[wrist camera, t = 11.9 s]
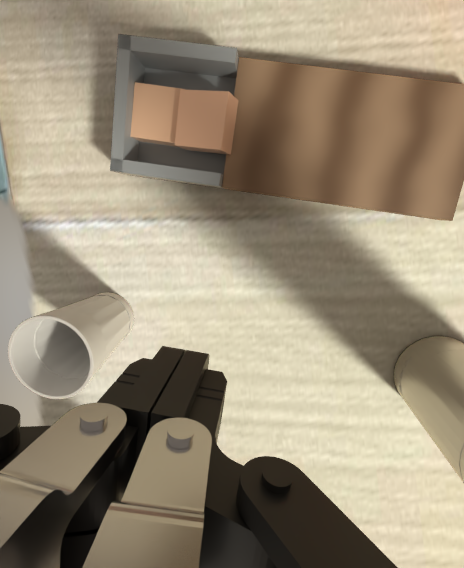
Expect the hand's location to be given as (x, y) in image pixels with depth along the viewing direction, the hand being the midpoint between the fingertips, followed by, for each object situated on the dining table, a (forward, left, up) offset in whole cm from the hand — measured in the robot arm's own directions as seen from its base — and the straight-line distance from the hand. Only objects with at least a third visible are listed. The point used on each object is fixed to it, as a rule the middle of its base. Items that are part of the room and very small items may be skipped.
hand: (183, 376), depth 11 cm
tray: (+9, -13, -29) cm, 33 cm away
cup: (+15, +10, -29) cm, 34 cm away
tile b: (+10, -13, -29) cm, 33 cm away
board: (-8, -13, -29) cm, 33 cm away
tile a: (+5, -13, -27) cm, 30 cm away
